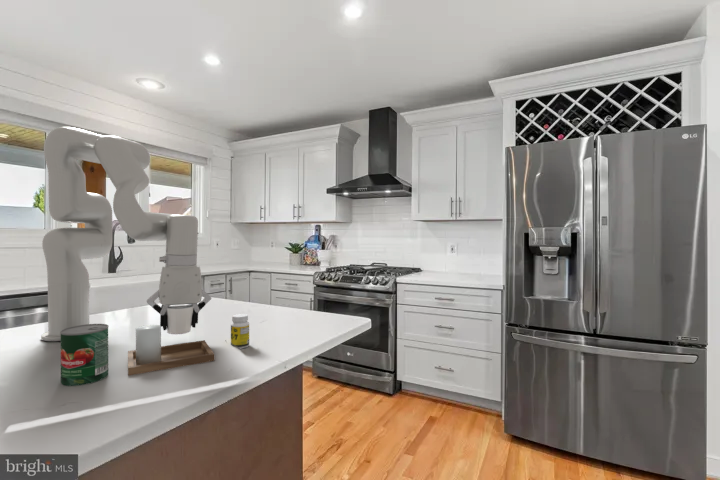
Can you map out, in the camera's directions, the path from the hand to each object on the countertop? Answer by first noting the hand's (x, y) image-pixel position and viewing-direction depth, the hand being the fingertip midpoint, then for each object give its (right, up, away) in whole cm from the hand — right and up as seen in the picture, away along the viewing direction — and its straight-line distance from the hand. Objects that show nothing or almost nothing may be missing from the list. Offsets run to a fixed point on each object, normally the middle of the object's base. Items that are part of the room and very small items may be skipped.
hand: (179, 327), depth 99 cm
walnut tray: (+4, -5, -12) cm, 14 cm away
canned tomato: (-7, -6, -24) cm, 26 cm away
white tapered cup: (0, -1, 0) cm, 1 cm away
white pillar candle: (0, -5, -15) cm, 16 cm away
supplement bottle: (+16, -5, 0) cm, 17 cm away
